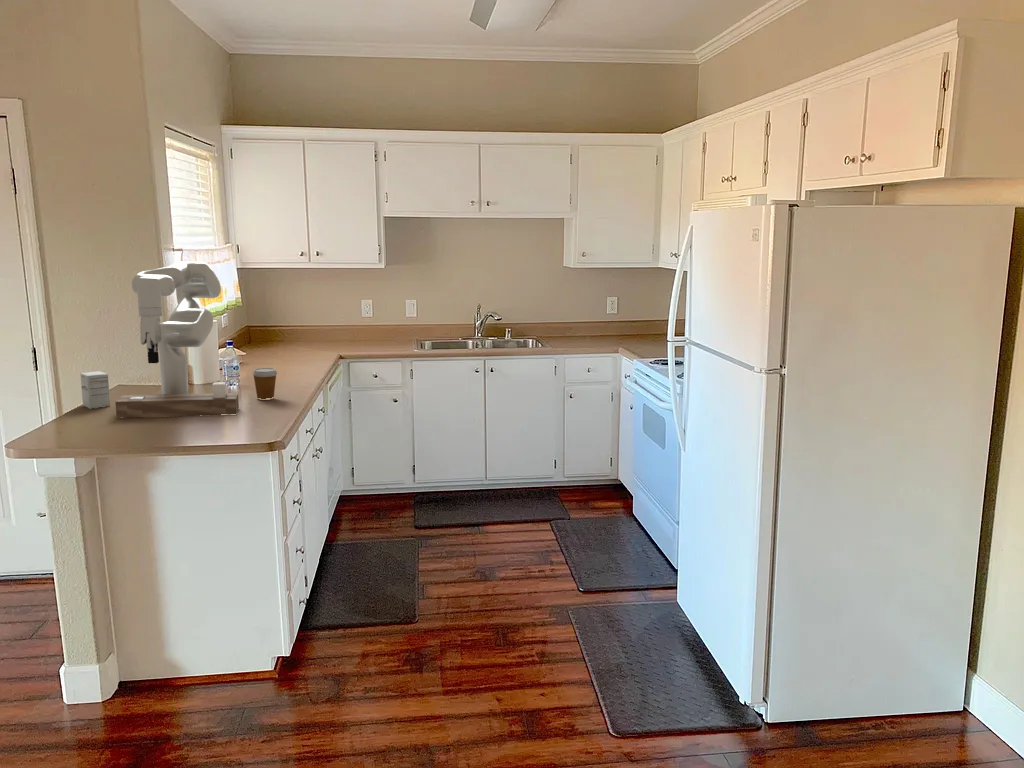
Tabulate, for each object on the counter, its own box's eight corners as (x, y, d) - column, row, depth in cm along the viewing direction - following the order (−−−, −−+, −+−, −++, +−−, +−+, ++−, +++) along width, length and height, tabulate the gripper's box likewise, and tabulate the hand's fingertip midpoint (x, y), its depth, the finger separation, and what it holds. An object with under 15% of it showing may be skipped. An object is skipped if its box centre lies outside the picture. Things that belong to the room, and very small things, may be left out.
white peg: (214, 396, 282) (213, 382, 281) (226, 396, 283) (225, 382, 282) (213, 399, 278) (212, 384, 277) (225, 398, 279) (224, 384, 278)
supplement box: (82, 405, 285) (79, 372, 282) (103, 403, 290) (101, 370, 288) (89, 409, 280) (86, 375, 277) (110, 406, 285) (108, 373, 283)
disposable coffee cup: (270, 402, 301) (269, 372, 299) (248, 400, 303) (247, 370, 300) (282, 397, 310) (281, 368, 308) (260, 395, 312) (260, 367, 310)
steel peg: (132, 411, 276) (131, 396, 275) (145, 411, 277) (144, 396, 276) (130, 414, 272) (129, 399, 271) (143, 413, 273) (142, 398, 272)
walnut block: (123, 411, 278) (122, 395, 277) (238, 408, 289) (238, 392, 288) (116, 418, 268) (115, 401, 267) (236, 414, 278) (235, 399, 277)
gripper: (144, 309, 275) (148, 359, 279) (132, 314, 261) (136, 366, 265) (166, 309, 277) (169, 359, 280) (156, 314, 262) (159, 366, 266)
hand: (153, 362), depth 273 cm, fingers closed
